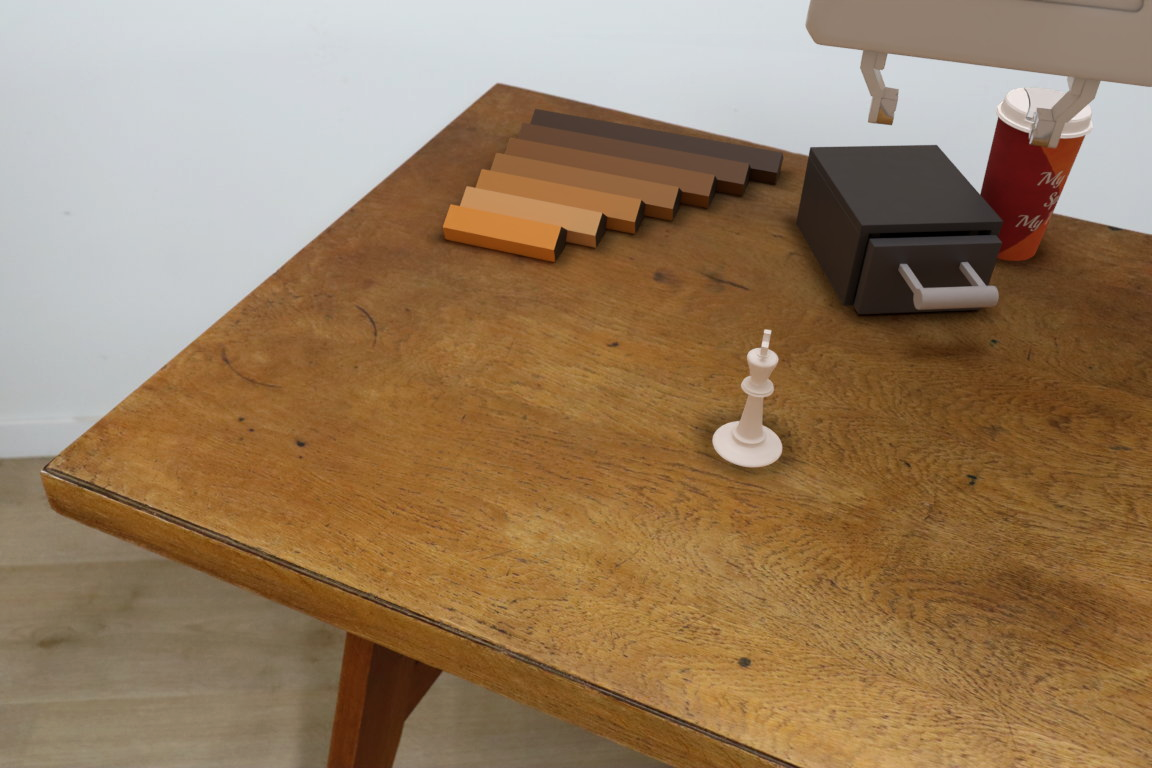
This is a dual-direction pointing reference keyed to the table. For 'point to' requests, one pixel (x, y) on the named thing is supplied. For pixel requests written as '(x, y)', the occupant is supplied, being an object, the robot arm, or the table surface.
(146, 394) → the table surface
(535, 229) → the pan flute
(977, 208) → the small storage cabinet
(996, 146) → the paper cup
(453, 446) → the table surface
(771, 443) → the chess piece
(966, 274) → the drawer
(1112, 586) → the table surface
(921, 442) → the table surface
